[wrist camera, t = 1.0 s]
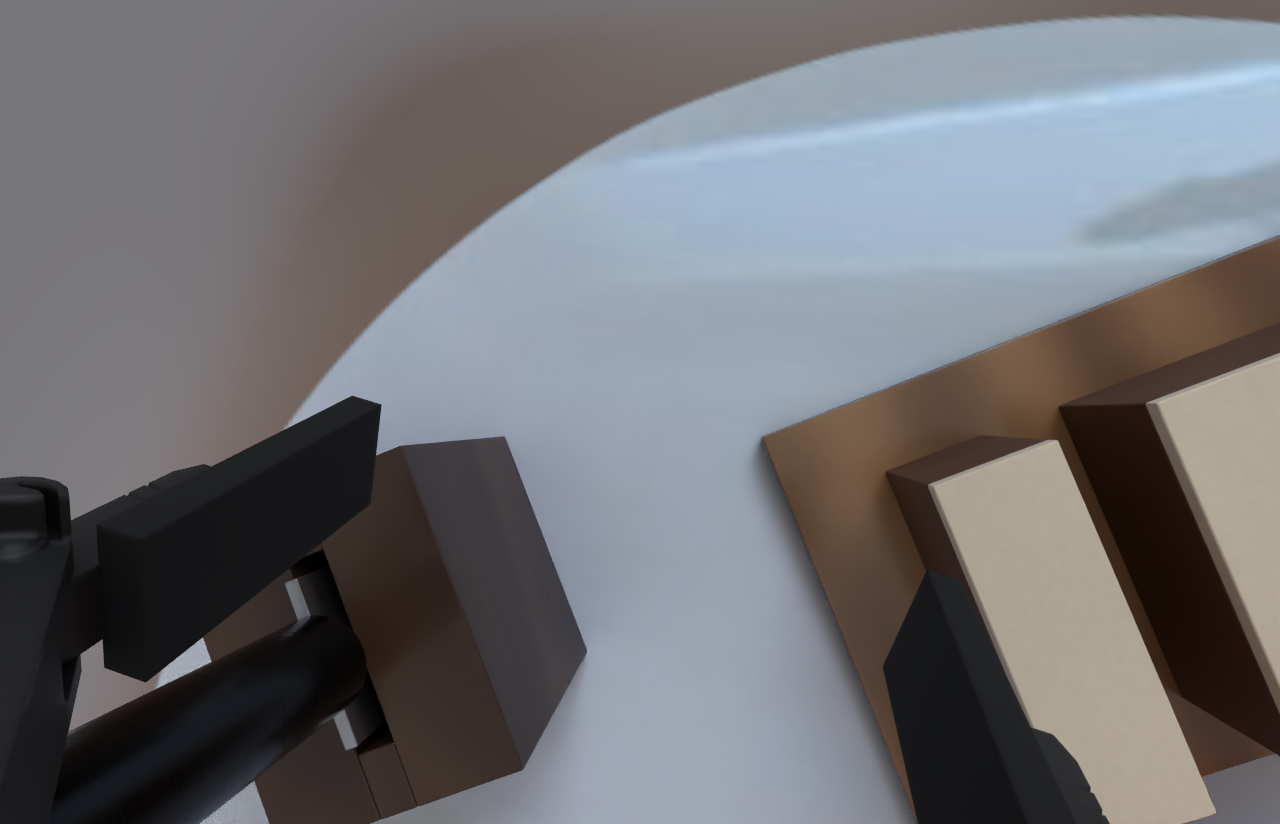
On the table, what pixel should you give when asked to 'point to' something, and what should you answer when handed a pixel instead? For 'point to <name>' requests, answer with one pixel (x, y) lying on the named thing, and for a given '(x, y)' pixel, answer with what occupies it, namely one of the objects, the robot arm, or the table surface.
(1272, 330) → the cake
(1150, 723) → the cake slice
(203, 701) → the knife
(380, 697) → the knife block
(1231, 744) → the cake board
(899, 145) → the table surface
